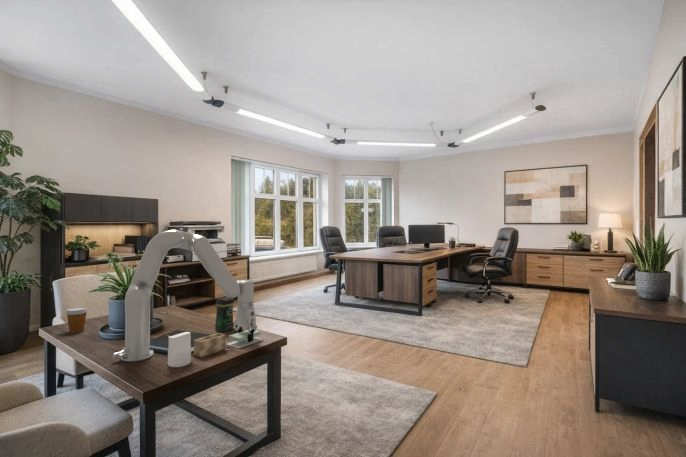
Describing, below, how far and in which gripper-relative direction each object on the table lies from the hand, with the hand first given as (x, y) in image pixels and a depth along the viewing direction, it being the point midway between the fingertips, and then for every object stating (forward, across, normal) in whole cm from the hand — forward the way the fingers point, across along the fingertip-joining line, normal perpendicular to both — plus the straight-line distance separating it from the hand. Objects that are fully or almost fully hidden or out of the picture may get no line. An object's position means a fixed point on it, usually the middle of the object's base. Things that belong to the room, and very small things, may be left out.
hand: (245, 339), depth 179 cm
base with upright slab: (+2, +2, +34) cm, 34 cm away
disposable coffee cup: (+1, +85, +42) cm, 95 cm away
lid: (-1, 0, 0) cm, 1 cm away
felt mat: (+1, 0, 0) cm, 1 cm away
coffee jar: (+2, +25, -7) cm, 26 cm away
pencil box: (+1, +2, +19) cm, 19 cm away
